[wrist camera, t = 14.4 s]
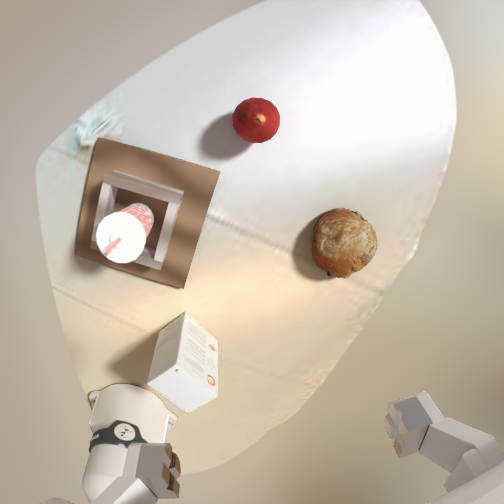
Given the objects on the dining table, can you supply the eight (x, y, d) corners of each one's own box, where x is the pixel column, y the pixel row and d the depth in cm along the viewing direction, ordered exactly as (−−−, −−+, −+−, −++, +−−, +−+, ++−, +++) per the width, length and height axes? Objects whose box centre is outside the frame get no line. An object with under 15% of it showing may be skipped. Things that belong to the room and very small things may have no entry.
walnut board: (184, 285, 48) (180, 301, 44) (77, 252, 45) (64, 264, 40) (220, 171, 43) (219, 175, 38) (100, 137, 39) (86, 138, 35)
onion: (225, 133, 41) (225, 132, 34) (241, 94, 39) (245, 85, 32) (265, 148, 42) (274, 151, 35) (281, 110, 41) (293, 105, 33)
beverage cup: (116, 235, 44) (78, 275, 31) (121, 194, 42) (80, 220, 29) (155, 243, 45) (131, 287, 32) (162, 201, 43) (137, 231, 30)
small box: (158, 330, 51) (144, 383, 39) (185, 310, 50) (176, 362, 38) (192, 360, 54) (187, 414, 41) (219, 341, 53) (219, 396, 40)
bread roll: (365, 224, 51) (393, 216, 44) (353, 284, 50) (381, 285, 42) (312, 205, 50) (335, 193, 42) (298, 269, 48) (320, 268, 40)
